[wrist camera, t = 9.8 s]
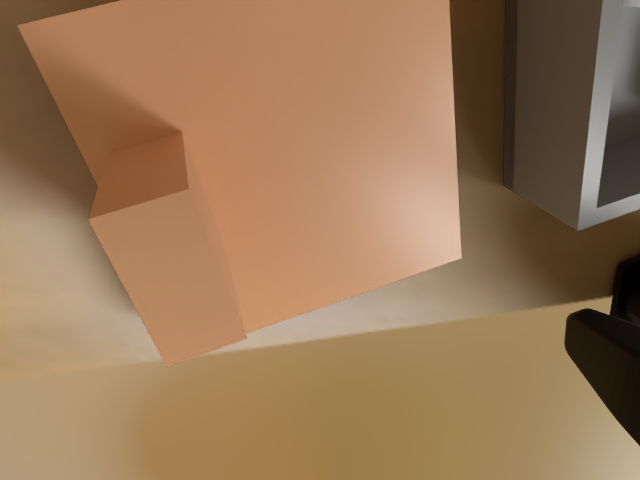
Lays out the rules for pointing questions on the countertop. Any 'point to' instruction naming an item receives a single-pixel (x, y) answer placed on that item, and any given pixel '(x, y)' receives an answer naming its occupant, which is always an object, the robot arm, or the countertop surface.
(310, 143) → the lid
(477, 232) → the countertop surface
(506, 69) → the tub
